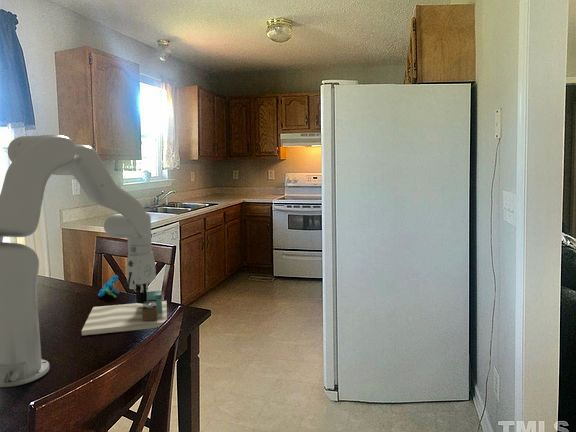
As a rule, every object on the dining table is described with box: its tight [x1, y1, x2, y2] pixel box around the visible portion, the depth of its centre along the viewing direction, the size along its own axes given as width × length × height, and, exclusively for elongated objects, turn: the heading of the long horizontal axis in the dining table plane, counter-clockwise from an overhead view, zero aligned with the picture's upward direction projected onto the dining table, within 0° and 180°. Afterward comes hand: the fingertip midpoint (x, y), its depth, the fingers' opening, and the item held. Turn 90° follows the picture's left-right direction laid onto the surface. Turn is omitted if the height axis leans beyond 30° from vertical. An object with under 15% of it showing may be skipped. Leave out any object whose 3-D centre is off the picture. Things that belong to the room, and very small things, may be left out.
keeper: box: [147, 290, 163, 313], centre depth 144 cm, size 5×4×6 cm
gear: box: [97, 274, 120, 299], centre depth 167 cm, size 11×6×10 cm
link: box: [142, 300, 158, 321], centre depth 143 cm, size 18×4×4 cm, turn 14°
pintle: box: [143, 301, 156, 309], centre depth 136 cm, size 4×4×5 cm
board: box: [81, 300, 168, 336], centre depth 141 cm, size 22×24×2 cm
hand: (141, 302), depth 149 cm, fingers closed
